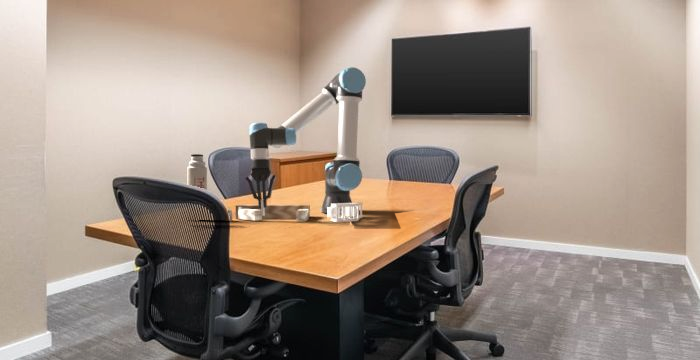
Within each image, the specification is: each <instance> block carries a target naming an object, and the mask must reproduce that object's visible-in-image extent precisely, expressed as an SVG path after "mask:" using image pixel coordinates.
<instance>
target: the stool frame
mask: <svg viewBox="0 0 700 360" xmlns="http://www.w3.org/2000/svg"><path fill="white" fill-rule="evenodd" d="M239 207H244V209H255V210H261V208H259V204H236V205H235V220H239V219H238V209H239ZM264 209H265V216H262V220H296V223H297V222H298V223H300V222H301V223H302V222H303V223H305V222H307V221H308V220H309V219H310V217H311V216H310V215H311V213H310V212H311V205H310V204H267V207H266V208H264ZM227 210H228V213H229V216H230V222H232V221H233V209H227Z"/></svg>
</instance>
